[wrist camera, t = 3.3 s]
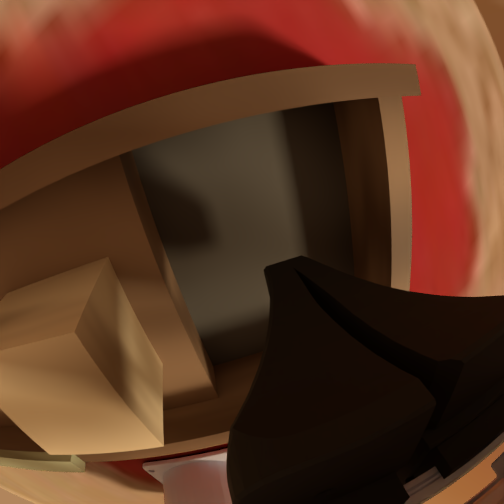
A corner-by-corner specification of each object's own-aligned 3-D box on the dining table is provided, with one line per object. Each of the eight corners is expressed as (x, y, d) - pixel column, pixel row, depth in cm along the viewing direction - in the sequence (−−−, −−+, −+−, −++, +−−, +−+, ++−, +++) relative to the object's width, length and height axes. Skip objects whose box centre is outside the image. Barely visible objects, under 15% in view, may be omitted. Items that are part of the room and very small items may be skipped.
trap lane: (368, 322, 16) (417, 380, 12) (-42, 411, 13) (-58, 452, 9) (344, 74, 11) (427, 59, 6) (-124, 283, 7) (-156, 316, 3)
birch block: (162, 363, 11) (164, 446, 8) (67, 383, 11) (50, 454, 7) (108, 256, 9) (74, 332, 6) (6, 293, 9) (-40, 359, 5)
